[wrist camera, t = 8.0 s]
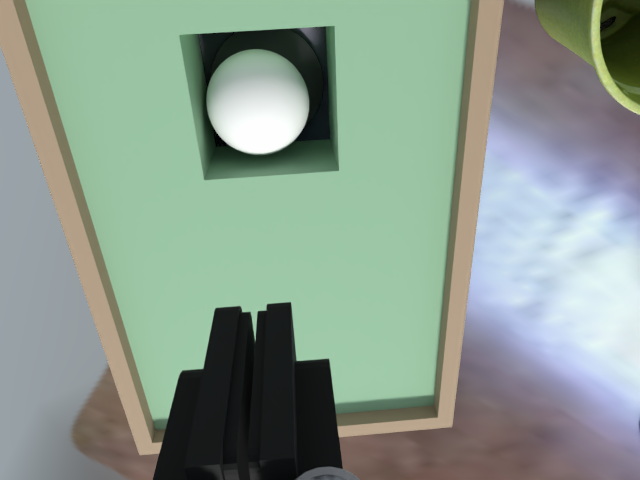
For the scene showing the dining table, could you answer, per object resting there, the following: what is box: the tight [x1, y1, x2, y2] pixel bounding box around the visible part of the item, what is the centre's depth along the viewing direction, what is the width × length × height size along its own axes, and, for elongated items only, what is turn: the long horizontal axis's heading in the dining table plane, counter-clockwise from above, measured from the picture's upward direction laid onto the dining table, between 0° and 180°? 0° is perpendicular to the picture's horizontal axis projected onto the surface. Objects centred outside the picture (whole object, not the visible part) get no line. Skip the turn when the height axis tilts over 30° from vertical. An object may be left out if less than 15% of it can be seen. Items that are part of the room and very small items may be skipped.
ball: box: [206, 49, 309, 155], centre depth 24 cm, size 5×5×5 cm
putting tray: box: [0, 0, 504, 455], centre depth 28 cm, size 20×28×6 cm
